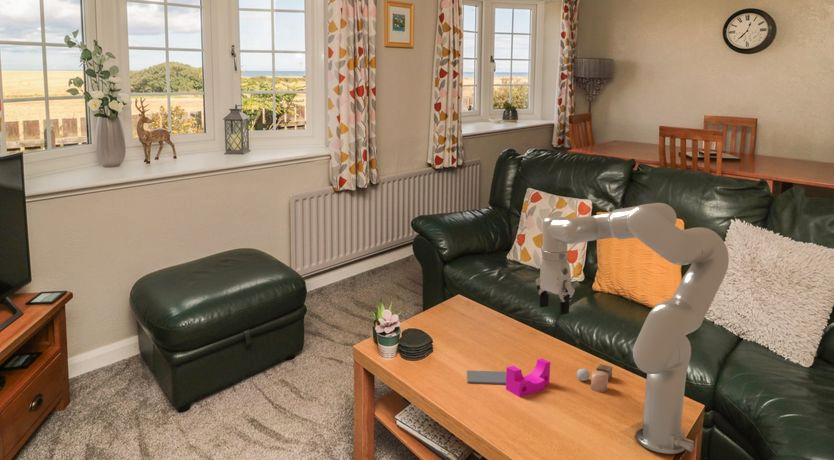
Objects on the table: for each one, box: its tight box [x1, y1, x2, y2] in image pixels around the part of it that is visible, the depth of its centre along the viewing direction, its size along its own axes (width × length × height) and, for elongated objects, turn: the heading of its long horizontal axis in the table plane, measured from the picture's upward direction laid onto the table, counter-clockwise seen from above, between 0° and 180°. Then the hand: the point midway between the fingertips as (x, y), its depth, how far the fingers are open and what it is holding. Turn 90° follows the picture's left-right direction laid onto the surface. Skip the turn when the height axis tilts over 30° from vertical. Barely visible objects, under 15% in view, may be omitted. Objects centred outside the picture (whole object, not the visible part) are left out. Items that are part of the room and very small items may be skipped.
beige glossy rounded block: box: [590, 370, 609, 393], centre depth 182 cm, size 5×5×5 cm
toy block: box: [505, 358, 551, 398], centre depth 182 cm, size 15×6×8 cm, turn 122°
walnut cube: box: [596, 363, 613, 383], centre depth 190 cm, size 4×4×4 cm
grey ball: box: [576, 368, 590, 382], centre depth 188 cm, size 4×4×4 cm
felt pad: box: [466, 370, 506, 386], centre depth 189 cm, size 17×9×1 cm, turn 86°
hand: (553, 310), depth 181 cm, fingers open, 9 cm apart
